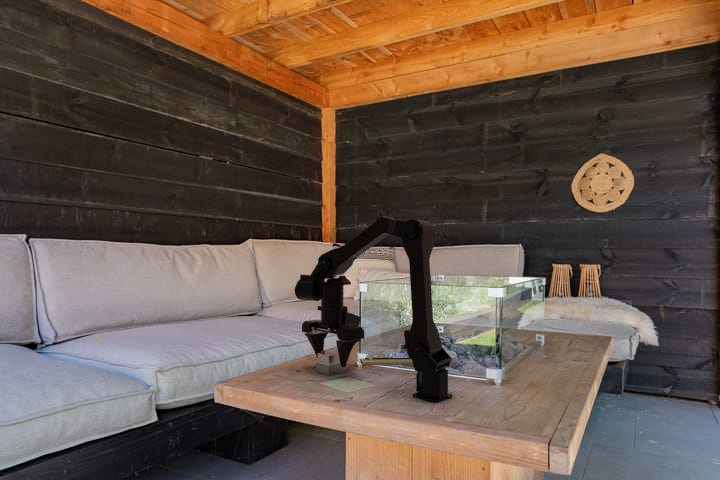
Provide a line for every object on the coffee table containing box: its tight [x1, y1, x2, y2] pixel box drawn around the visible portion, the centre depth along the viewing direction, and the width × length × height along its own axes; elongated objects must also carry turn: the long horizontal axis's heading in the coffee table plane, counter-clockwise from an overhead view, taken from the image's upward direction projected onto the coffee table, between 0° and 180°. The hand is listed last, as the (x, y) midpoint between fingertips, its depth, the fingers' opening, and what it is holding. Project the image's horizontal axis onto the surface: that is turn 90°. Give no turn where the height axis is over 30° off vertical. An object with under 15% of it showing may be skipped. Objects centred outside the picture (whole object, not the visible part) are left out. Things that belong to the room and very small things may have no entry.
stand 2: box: [319, 376, 378, 394], centre depth 111 cm, size 10×9×2 cm
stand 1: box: [306, 369, 358, 381], centre depth 121 cm, size 10×9×2 cm
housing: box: [315, 349, 348, 377], centre depth 122 cm, size 5×6×6 cm
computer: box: [358, 356, 414, 369], centre depth 134 cm, size 16×8×3 cm, turn 97°
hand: (331, 363), depth 122 cm, fingers open, 9 cm apart
